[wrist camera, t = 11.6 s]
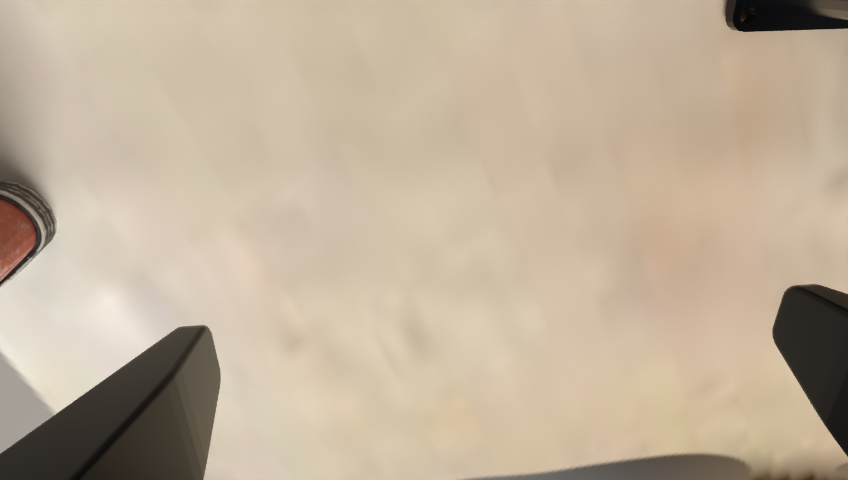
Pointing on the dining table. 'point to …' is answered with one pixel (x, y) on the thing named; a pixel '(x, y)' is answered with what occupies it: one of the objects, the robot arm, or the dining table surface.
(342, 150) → the dining table surface
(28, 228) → the lighter
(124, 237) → the dining table surface
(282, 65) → the dining table surface
